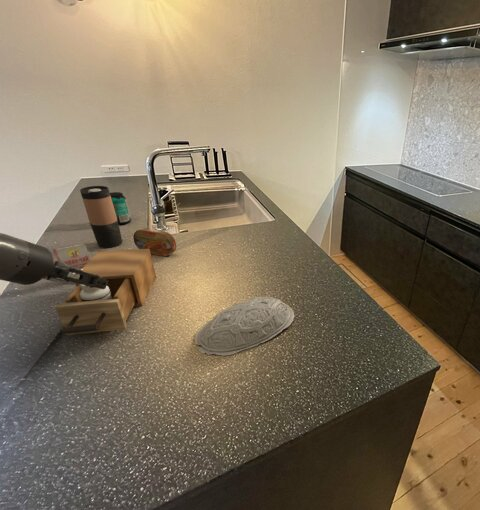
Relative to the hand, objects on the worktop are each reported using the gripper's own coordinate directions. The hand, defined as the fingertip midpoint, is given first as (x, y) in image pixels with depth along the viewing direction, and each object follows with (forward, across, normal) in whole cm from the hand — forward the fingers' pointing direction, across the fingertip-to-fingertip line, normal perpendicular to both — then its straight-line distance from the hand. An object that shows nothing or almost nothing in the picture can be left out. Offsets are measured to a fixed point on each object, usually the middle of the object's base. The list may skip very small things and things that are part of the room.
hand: (90, 280), depth 68 cm
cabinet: (+16, -6, 0) cm, 17 cm away
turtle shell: (+16, +32, -1) cm, 36 cm away
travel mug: (+32, -35, +15) cm, 49 cm away
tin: (+32, -15, +15) cm, 39 cm away
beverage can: (+44, -48, +26) cm, 70 cm away
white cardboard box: (+18, -23, +1) cm, 29 cm away
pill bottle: (+7, 0, -7) cm, 10 cm away
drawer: (+7, +1, -8) cm, 11 cm away
